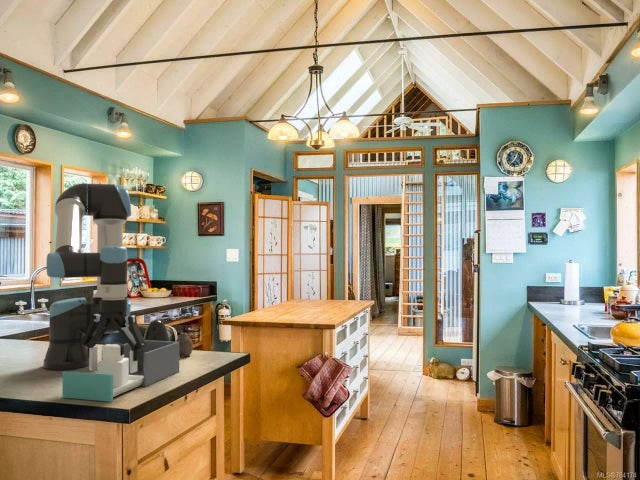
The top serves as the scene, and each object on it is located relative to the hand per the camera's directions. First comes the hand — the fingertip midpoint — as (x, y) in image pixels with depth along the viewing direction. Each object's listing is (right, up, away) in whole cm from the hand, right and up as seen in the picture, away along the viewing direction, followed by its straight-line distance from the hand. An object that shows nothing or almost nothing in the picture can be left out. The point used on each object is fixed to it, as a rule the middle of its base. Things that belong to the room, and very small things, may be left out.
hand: (113, 370), depth 161 cm
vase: (+9, -6, +48) cm, 49 cm away
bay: (+4, -6, +14) cm, 15 cm away
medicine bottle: (0, -4, 0) cm, 4 cm away
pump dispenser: (+1, -6, +39) cm, 39 cm away
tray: (0, -5, -1) cm, 5 cm away
